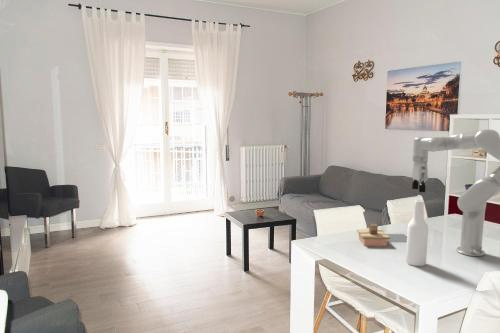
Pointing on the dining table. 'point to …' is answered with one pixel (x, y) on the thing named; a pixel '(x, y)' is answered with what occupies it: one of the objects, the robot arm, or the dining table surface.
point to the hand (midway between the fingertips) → (418, 190)
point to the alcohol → (417, 237)
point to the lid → (373, 233)
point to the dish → (373, 242)
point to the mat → (397, 238)
